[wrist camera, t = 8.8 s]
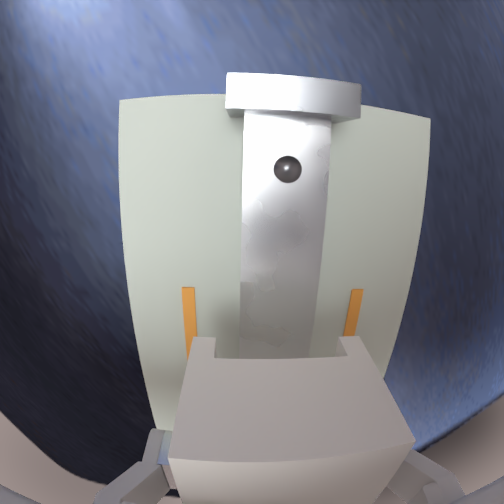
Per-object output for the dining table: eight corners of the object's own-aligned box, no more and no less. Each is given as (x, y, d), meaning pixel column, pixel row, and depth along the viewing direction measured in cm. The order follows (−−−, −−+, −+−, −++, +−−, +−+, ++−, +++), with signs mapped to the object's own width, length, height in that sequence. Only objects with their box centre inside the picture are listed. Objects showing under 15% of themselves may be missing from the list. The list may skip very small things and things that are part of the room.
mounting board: (420, 119, 13) (431, 118, 12) (346, 453, 21) (349, 463, 20) (127, 102, 12) (118, 99, 11) (169, 455, 20) (167, 466, 19)
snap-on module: (359, 335, 11) (415, 441, 6) (326, 448, 13) (347, 534, 8) (193, 336, 11) (167, 457, 6) (204, 451, 13) (197, 542, 8)
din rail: (336, 96, 12) (361, 84, 9) (290, 462, 19) (294, 495, 16) (230, 89, 12) (226, 72, 9) (230, 463, 19) (229, 496, 16)
